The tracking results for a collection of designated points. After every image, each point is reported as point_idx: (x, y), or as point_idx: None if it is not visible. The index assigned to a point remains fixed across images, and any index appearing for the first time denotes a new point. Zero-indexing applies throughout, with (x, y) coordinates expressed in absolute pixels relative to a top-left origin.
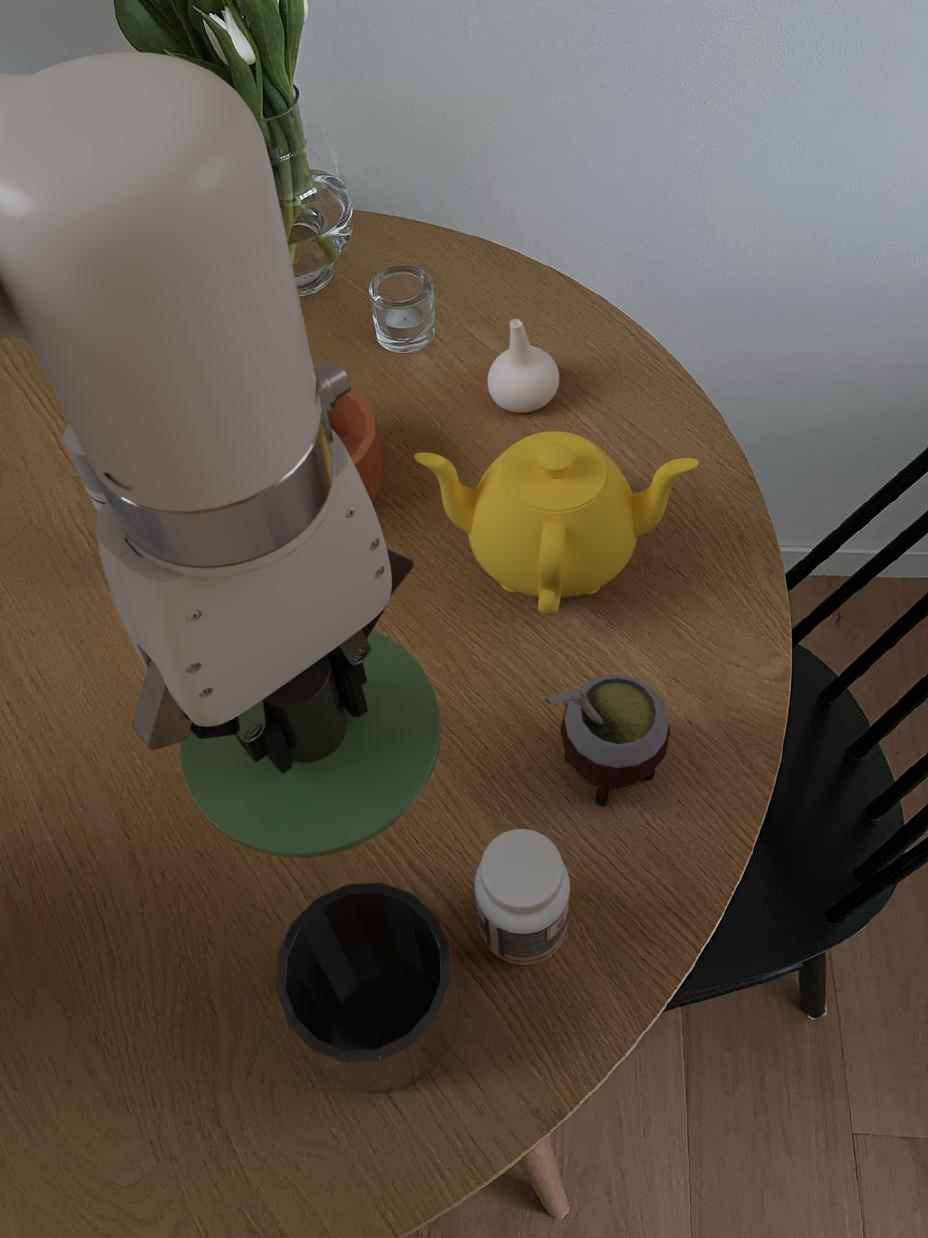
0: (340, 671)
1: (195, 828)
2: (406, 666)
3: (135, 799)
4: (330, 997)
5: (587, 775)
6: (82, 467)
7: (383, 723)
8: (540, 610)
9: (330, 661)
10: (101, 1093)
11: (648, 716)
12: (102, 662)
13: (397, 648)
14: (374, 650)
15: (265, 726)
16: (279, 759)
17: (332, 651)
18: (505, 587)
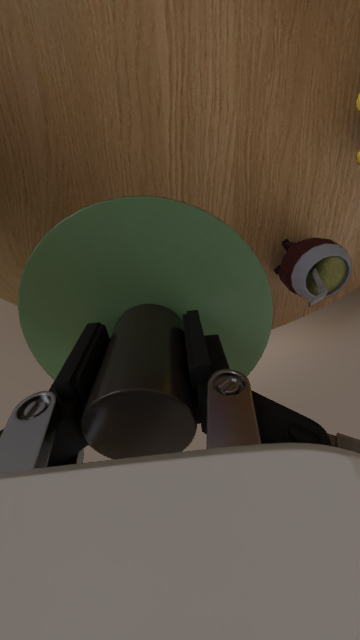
0: (198, 418)
1: (89, 146)
2: (260, 327)
3: (55, 92)
4: None
5: (283, 278)
6: None
7: None
8: (358, 158)
9: (196, 405)
10: (14, 257)
11: (334, 286)
12: None
13: (268, 307)
14: (249, 296)
15: (83, 450)
16: None
17: (204, 424)
18: (358, 101)
